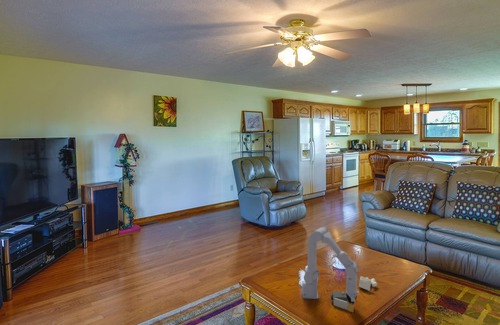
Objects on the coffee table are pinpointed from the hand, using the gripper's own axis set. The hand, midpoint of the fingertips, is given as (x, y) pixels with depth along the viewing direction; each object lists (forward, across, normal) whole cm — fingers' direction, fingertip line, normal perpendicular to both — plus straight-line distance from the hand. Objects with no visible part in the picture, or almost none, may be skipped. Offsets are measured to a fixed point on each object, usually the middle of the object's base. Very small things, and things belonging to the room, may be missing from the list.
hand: (351, 306), depth 171 cm
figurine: (-3, +22, -10) cm, 24 cm away
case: (+2, +6, +6) cm, 9 cm away
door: (+2, 0, +4) cm, 5 cm away
